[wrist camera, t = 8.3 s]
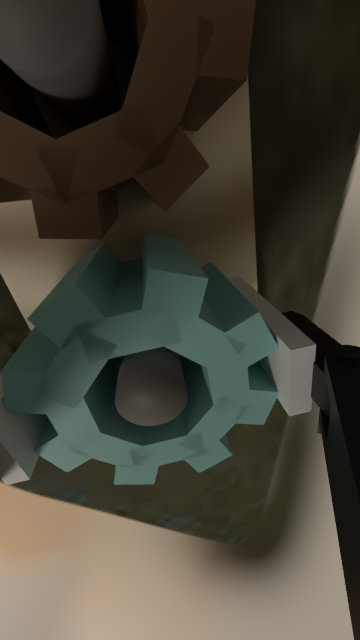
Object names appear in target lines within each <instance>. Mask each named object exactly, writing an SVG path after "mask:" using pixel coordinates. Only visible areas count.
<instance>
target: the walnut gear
mask: <svg viewBox="0 0 360 640" xmlns="http://www.w3.org/2000/svg"><path fill="white" fill-rule="evenodd" d="M99 4H100V9H101V13H102V18H103V22H104V26H105V31H106V35H107V39H109V40H110V41H112V42H113V43H115V44H116V45H118V46H120V47H121V48H123V49H124V50H126V51H127V53H128V56H129V59H130V62H131V64H132V67H133V73H132V77H131V80H130V83H129V87H128V90H127V94H126V97H125V101H124V104H123V107H122V110H120V111H118V112H116V113H114V114H111V115H109V116H107V117H105V118H102V119H100V120H98V121H96V122H93V123H91V124H89V125H87V126H84V127H82V128H80V129H78V130H75V131H73V132H71V133H68V134H66V135H64V136H62V137H59V138H57V139H55V138H54V137H53V135H52V133H51V131H50V129H49V127H48V125H47V123H46V121H45V119H44V117H43V115H42V113H41V111H40V109H39V107H38V105H37V103H36V101H35V99H34V97H33V95H32V92H33V89H32V88H31V87H30V86H29V85H28V84H27V83H26V82H25V81H24V80H23V79H22V78H21V77H19V76H18V75H17V74H16V73H15V72H14V71H13V70H12V69H11V68H10V67H9V66H8V65H7V64H5V63H4V62H3V61H2V60H1V59H0V203H3V202H14V201H24V200H31V201H32V206H33V211H34V216H35V221H36V226H37V230H38V235H39V239H98V240H101V239H102V238H103V237H104V236H105V234H106V233H107V232H108V231H109V229H110V228H111V227H112V225H113V224H114V223H115V222H116V220H117V219H118V203H117V190H120V189H122V188H124V187H127V186H129V185H132V184H134V183H136V182H137V183H138V184H139V185H140V186H141V188H142V189H143V190H144V191H145V192H146V193H147V194H148V195H149V196H150V198H151V199H152V200H153V201H154V202H155V203H156V204H157V205H158V206H159V207H160V208H161V209H162V210H163V211H164V212H165V213H166V212H167V210H168V209H169V208H170V207H171V206H172V205H173V204H174V203H175V202H176V201H177V200H178V199H179V198H180V197H181V196H182V195H183V194H184V193H185V192H186V191H187V190H188V189H189V188H190V186H191V185H192V184H193V183H194V182H195V181H196V180H197V179H198V178H199V177H200V176H201V175H202V174H203V173H204V172H205V171H206V170H207V169H208V168H209V167H210V166H209V165H208V163H207V162H206V161H205V159H204V158H203V156H202V155H201V154H200V152H199V151H198V150H197V148H196V147H195V146H194V144H193V143H192V141H191V140H190V139H189V137H188V136H187V135H186V133H185V132H184V131H183V130H185V131H198V130H199V129H200V128H201V127H202V126H203V125H204V124H205V123H206V122H207V121H208V120H209V119H210V118H211V117H212V116H213V115H214V114H215V113H216V111H217V110H218V109H219V108H220V107H221V106H222V105H223V104H224V103H225V102H226V101H227V100H228V99H229V98H230V97H231V96H232V95H233V94H234V93H235V92H236V91H237V90H238V89H239V88H240V87H241V86H242V85H243V84H244V83H245V82H246V81H247V76H248V67H249V58H250V50H251V41H252V32H253V24H254V15H255V6H256V0H99Z"/></svg>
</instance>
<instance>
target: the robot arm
mask: <svg viewBox="0 0 360 640" xmlns="http://www.w3.org/2000/svg"><path fill="white" fill-rule="evenodd" d="M228 280H229V281H230V282H231V283H232V284H233V285H234V286H235V287H236V288H237V289H238V290H239V291H240V293H241V294H242V295H243V296H244V297H245V298H246V299H247V300H248V301H249V302H250V303H251V304H252V305H253V306H254V307H255V308H256V309H257V310H258V311H259V313H260V315H261V316H262V318H263V320H264V322H265V324H266V325H267V327H268V329H269V331H270V333H271V334H272V336H273V338H274V340H275V342H276V343H277V345H278V350H276V351H274V352H273V353H271V354H269V355H267V356H266V357H264V358H262V359H261V360H259V361H258V362H259V364H260V365H261V367H262V368H263V370H264V371H265V373H266V374H267V376H268V377H269V379H270V380H271V382H272V383H273V385H274V386H275V388H276V389H277V391H278V396H277V398H278V400H279V401H280V403H281V404H282V406H283V407H284V409H285V410H286V412H287V413H288V415H289V416H293V415H297V414H301V413H305V412H309V411H311V404H312V399H313V400H314V401H315V402H316V404H317V405H318V406H319V407H320V412H319V422H318V432H317V433H320V434H322V440H323V446H324V452H325V458H326V465H327V471H328V477H329V484H330V490H331V496H332V502H333V509H334V515H335V522H336V528H337V533H338V541H339V547H340V553H341V559H342V565H343V571H344V578H345V585H346V591H347V597H348V603H349V610H350V616H351V622H352V629H353V635H354V640H360V347H357V346H351V345H341V344H340V343H338V342H337V341H336V340H334V339H333V338H332V337H331V336H329V335H328V334H327V333H326V332H324V331H323V330H321V329H320V328H318V327H317V326H316V325H315V324H314V323H312V322H311V321H310V320H309V319H308V318H306V317H305V316H304V315H302V314H299V313H296V312H293V311H289V312H285V313H280V312H279V311H278V310H277V309H276V308H275V307H274V306H272V305H271V304H270V303H269V302H268V301H267V300H266V299H265V298H264V297H262V296H261V295H260V294H259V293H258V292H257V291H256V290H255V289H253V288H252V287H251V286H250V285H249V284H248V283H247V282H246V281H245V280H243V279H242V278H241V277H240V276H239V277H234V278H230V279H228ZM47 417H48V416H47V415H46V414H27V413H7V412H6V411H5V402H4V392H3V382H2V372H0V478H1V479H2V480H3V482H4V483H5V484H6V485H9V484H13V483H17V482H21V481H26V480H30V478H31V475H32V473H33V470H34V467H35V465H36V462H37V460H38V457H39V455H38V454H37V453H35V452H34V449H35V446H36V444H37V441H38V439H39V436H40V434H41V432H42V429H43V427H44V424H45V422H46V419H47Z"/></svg>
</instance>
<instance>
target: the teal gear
mask: <svg viewBox="0 0 360 640" xmlns="http://www.w3.org/2000/svg"><path fill="white" fill-rule="evenodd" d="M27 319H28V320H29V321H30V322H31V323H32V324H33V325H34V326H35V327H34V329H33V330H32V331H31V333H30V334H29V335H28V336H27V338H26V339H25V340H24V342H23V343H22V344H21V346H20V347H19V348H18V350H17V351H16V352H15V353H14V355H13V356H12V357H11V359H10V360H9V361H8V363H7V364H6V365H5V366H4V368H3V369H2V370H1V372H2V382H3V392H4V402H5V411H6V412H7V413H27V414H46V415H47V416H48V417H47V419H46V422H45V424H44V427H43V429H42V432H41V434H40V436H39V439H38V441H37V444H36V446H35V449H34V452H35V453H37V454H38V455H40V456H41V457H43V458H45V459H46V460H48V461H49V462H51V463H53V464H54V465H56V466H57V467H59V468H61V469H62V470H64V471H66V472H69V471H71V470H72V469H74V468H76V467H78V466H79V465H81V464H83V463H84V462H86V461H88V460H90V459H91V458H93V459H97V460H100V461H104V462H107V463H111V464H114V465H115V476H114V484H154V482H155V478H156V475H157V471H158V467H159V466H160V465H164V464H168V463H172V462H176V461H180V460H185V461H186V462H187V463H188V464H190V465H191V466H192V467H193V468H194V469H195V470H196V471H197V472H198V473H200V472H202V471H204V470H206V469H207V468H209V467H211V466H213V465H215V464H217V463H219V462H221V461H223V460H224V459H226V458H228V457H230V456H232V452H231V449H230V446H229V443H228V440H227V437H226V433H227V432H228V431H229V430H230V429H231V427H232V426H233V425H234V424H235V423H239V424H260V425H264V423H265V421H266V419H267V417H268V415H269V413H270V411H271V409H272V407H273V404H274V402H275V400H276V398H277V396H278V391H277V389H276V388H275V386H274V385H273V383H272V382H271V380H270V379H269V377H268V376H267V374H266V373H265V371H264V370H263V368H262V367H261V365H260V364H259V362H258V361H259V360H261V359H262V358H264V357H266V356H267V355H269V354H271V353H273V352H274V351H276V350H278V345H277V343H276V342H275V340H274V338H273V336H272V334H271V333H270V331H269V329H268V327H267V325H266V324H265V322H264V320H263V318H262V316H261V315H260V313H259V311H258V310H257V309H256V308H255V307H254V306H253V305H252V304H251V303H250V302H249V301H248V300H247V299H246V298H245V297H244V296H243V295H242V294H241V293H240V291H239V290H238V289H237V288H236V287H235V286H234V285H233V284H232V283H231V282H230V281H229V280H228V279H227V278H226V277H225V276H224V275H223V274H222V273H221V272H220V271H219V269H218V268H217V267H216V266H215V265H214V264H213V263H212V262H211V261H210V262H208V263H207V264H205V265H204V266H202V267H201V268H200V266H199V265H198V264H197V262H196V261H195V260H194V258H193V257H192V256H191V254H190V253H189V252H188V250H187V249H186V248H185V246H184V245H183V244H182V242H181V241H180V240H179V239H175V238H170V237H165V236H160V235H155V234H150V233H145V238H144V245H143V251H142V258H138V259H133V260H128V261H124V262H120V260H119V259H118V258H117V257H116V255H115V254H114V253H113V251H112V250H111V249H110V248H109V246H108V245H107V244H106V243H105V241H104V242H103V243H102V244H100V245H99V246H98V247H96V248H95V249H93V250H92V251H91V252H89V253H88V254H87V255H85V256H84V257H83V258H81V259H80V260H78V261H77V262H76V263H75V265H74V266H73V267H72V268H71V269H70V270H69V271H68V273H67V274H66V275H65V276H64V277H63V278H62V279H61V281H60V282H59V283H58V284H57V285H56V286H55V287H54V289H53V290H52V291H51V292H50V293H49V294H48V295H47V297H46V298H45V299H44V300H43V301H42V302H41V303H40V305H39V306H38V307H37V308H36V309H35V310H34V311H33V313H32V314H31V315H30V316H29V317H28V318H27ZM163 346H164V347H166V348H168V349H170V350H172V351H174V352H176V353H178V354H179V358H180V362H181V366H182V371H183V375H184V380H185V384H186V388H187V393H188V399H187V403H186V406H185V408H184V409H183V411H182V412H181V413H180V414H179V415H178V416H177V417H176V418H174V419H173V420H171V421H169V422H166V423H164V424H160V425H155V426H142V425H137V424H134V423H131V422H129V421H127V420H126V419H124V418H123V417H122V416H121V415H120V414H119V412H118V411H117V409H116V405H115V394H116V386H117V378H118V370H119V362H120V356H124V355H128V354H133V353H137V352H141V351H146V350H150V349H154V348H159V347H163Z"/></svg>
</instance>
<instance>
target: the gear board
mask: <svg viewBox="0 0 360 640" xmlns="http://www.w3.org/2000/svg"><path fill="white" fill-rule="evenodd" d="M0 59H1V60H2V61H3V62H4V63H5V64H7V65H8V66H9V67H10V68H11V69H12V70H13V71H14V72H15V73H16V74H17V75H18V76H19V77H21V78H22V79H23V80H24V81H25V82H26V83H27V84H28V85H29V86H30V87H31V88H32V89H33V92H32V95H33V97H34V99H35V101H36V103H37V105H38V107H39V109H40V111H41V113H42V115H43V117H44V119H45V121H46V123H47V125H48V127H49V129H50V131H51V133H52V135H53V137H54V138H55V139H57V138H59V137H62V136H64V135H66V134H68V133H71V132H73V131H75V130H78V129H80V128H82V127H84V126H87V125H89V124H91V123H93V122H96V121H98V120H100V119H102V118H105V117H107V116H109V115H111V114H114V113H116V112H118V111H120V110H122V107H123V104H124V101H125V97H126V94H127V90H128V87H129V83H130V80H131V77H132V73H133V67H132V64H131V62H130V59H129V56H128V53H127V51H126V50H124V49H123V48H121V47H120V46H118V45H116V44H115V43H113V42H112V41H110V40H109V39H107V35H106V31H105V26H104V22H103V18H102V13H101V9H100V4H99V0H0ZM183 131H184V132H185V133H186V135H187V136H188V137H189V139H190V140H191V141H192V143H193V144H194V146H195V147H196V148H197V150H198V151H199V152H200V154H201V155H202V156H203V158H204V159H205V161H206V162H207V163H208V165H209V166H210V167H209V168H208V169H207V170H206V171H205V172H204V173H203V174H202V175H201V176H200V177H199V178H198V179H197V180H196V181H195V182H194V183H193V184H192V185H191V186H190V188H189V189H188V190H187V191H186V192H185V193H184V194H183V195H182V196H181V197H180V198H179V199H178V200H177V201H176V202H175V203H174V204H173V205H172V206H171V207H170V208H169V209H168V210H167V212H166V213H165V212H164V211H163V210H162V209H161V208H160V207H159V206H158V205H157V204H156V203H155V202H154V201H153V200H152V199H151V198H150V196H149V195H148V194H147V193H146V192H145V191H144V190H143V189H142V188H141V186H140V185H139V184H138V183H137V182H136V183H134V184H132V185H129V186H127V187H124V188H122V189H120V190H117V203H118V219H117V220H116V222H115V223H114V224H113V225H112V227H111V228H110V229H109V231H108V232H107V233H106V234H105V236H104V237H103V238H102V239H101V240H98V239H39V235H38V230H37V226H36V221H35V216H34V211H33V206H32V201H31V200H24V201H14V202H3V203H0V273H1V275H2V277H3V279H4V281H5V283H6V284H7V286H8V288H9V290H10V292H11V294H12V296H13V298H14V300H15V301H16V303H17V305H18V307H19V309H20V311H21V313H22V315H23V317H24V318H25V320H26V322H27V324H28V326H29V328H30V330H31V331H32V330H33V329H34V327H35V326H34V325H33V324H32V323H31V322H30V321H29V320H28V319H27V318H28V317H29V316H30V315H31V314H32V313H33V311H34V310H35V309H36V308H37V307H38V306H39V305H40V303H41V302H42V301H43V300H44V299H45V298H46V297H47V295H48V294H49V293H50V292H51V291H52V290H53V289H54V287H55V286H56V285H57V284H58V283H59V282H60V281H61V279H62V278H63V277H64V276H65V275H66V274H67V273H68V271H69V270H70V269H71V268H72V267H73V266H74V265H75V263H76V262H77V261H78V260H80V259H81V258H83V257H84V256H85V255H87V254H88V253H89V252H91V251H92V250H93V249H95V248H96V247H98V246H99V245H100V244H102V243H103V242H104V241H105V243H106V244H107V245H108V246H109V248H110V249H111V250H112V251H113V253H114V254H115V255H116V257H117V258H118V259H119V260H120V262H124V261H128V260H133V259H138V258H142V251H143V245H144V238H145V233H150V234H155V235H160V236H165V237H170V238H175V239H179V240H180V241H181V242H182V244H183V245H184V246H185V248H186V249H187V250H188V252H189V253H190V254H191V256H192V257H193V258H194V260H195V261H196V262H197V264H198V265H199V266H200V268H201V267H202V266H204V265H205V264H207V263H208V262H210V261H211V262H212V263H213V264H214V265H215V266H216V267H217V268H218V269H219V271H220V272H221V273H222V274H223V275H224V276H225V277H226V278H227V279H230V278H234V277H239V276H240V277H241V278H242V279H243V280H245V281H246V282H247V283H248V284H249V285H250V286H251V287H252V288H253V289H255V290H256V291H257V292H258V289H257V266H256V244H255V221H254V199H253V177H252V154H251V132H250V109H249V87H248V76H247V81H246V82H245V83H244V84H243V85H242V86H241V87H240V88H239V89H238V90H237V91H236V92H235V93H234V94H233V95H232V96H231V97H230V98H229V99H228V100H227V101H226V102H225V103H224V104H223V105H222V106H221V107H220V108H219V109H218V110H217V111H216V113H215V114H214V115H213V116H212V117H211V118H210V119H209V120H208V121H207V122H206V123H205V124H204V125H203V126H202V127H201V128H200V129H199V130H198V131H185V130H183ZM187 399H188V393H187V388H186V384H185V380H184V375H183V371H182V366H181V362H180V358H179V354H178V353H176V352H174V351H172V350H170V349H168V348H166V347H164V346H163V347H159V348H154V349H150V350H146V351H141V352H137V353H133V354H128V355H124V356H120V362H119V370H118V378H117V386H116V394H115V405H116V409H117V411H118V412H119V414H120V415H121V416H122V417H123V418H124V419H126V420H127V421H129V422H131V423H134V424H137V425H142V426H155V425H160V424H164V423H166V422H169V421H171V420H173V419H174V418H176V417H177V416H178V415H179V414H180V413H181V412H182V411H183V409H184V408H185V406H186V403H187Z"/></svg>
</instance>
